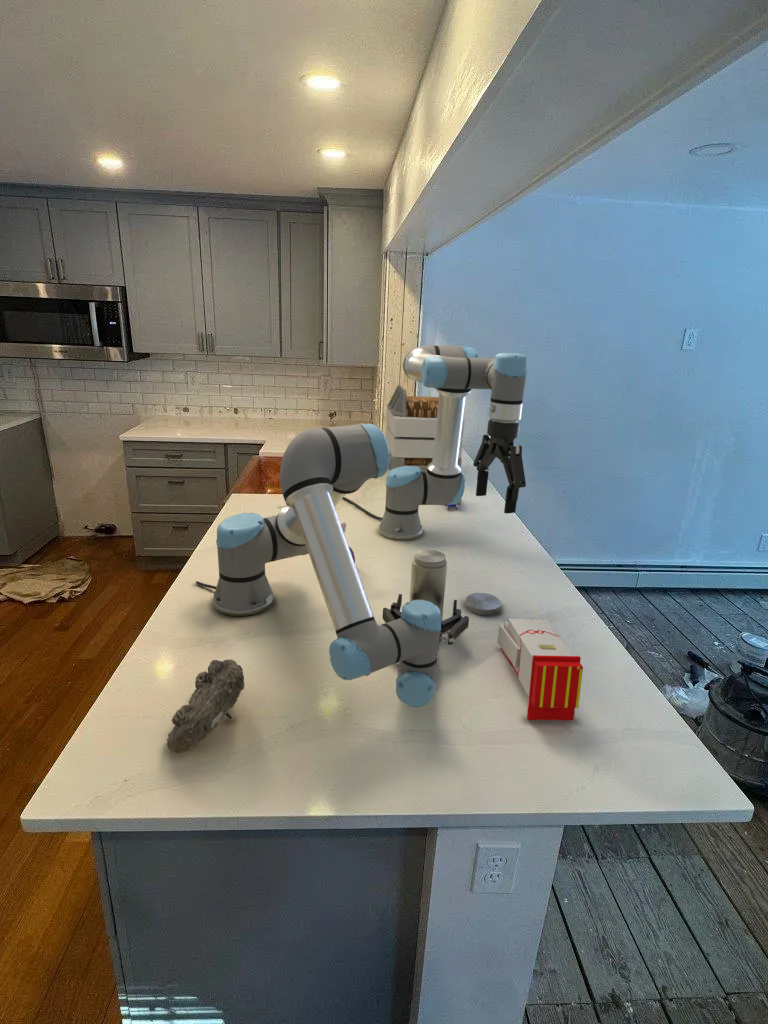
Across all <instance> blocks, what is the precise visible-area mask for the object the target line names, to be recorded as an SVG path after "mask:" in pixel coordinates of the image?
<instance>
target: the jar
mask: <svg viewBox="0 0 768 1024" xmlns="http://www.w3.org/2000/svg"><path fill="white" fill-rule="evenodd" d="M447 571H448V561H447V556H446V554H444V552H441V551H439V550H435V549H427V548H426V549H420V550H417V551H416V552H414V554H413V558H412V560H411V571H410V587H409V588H410V589H409V601H412V600H425V601H429V602H431V603H433V604H434V605H436V606H437V607H438V608H439V610H440V613H441V621H443V617H444V616H443V615H444V606H445V604H444V603H445V593H446V592H445V591H446V581H447Z"/></svg>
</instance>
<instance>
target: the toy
mask: <svg viewBox="0 0 768 1024" xmlns="http://www.w3.org/2000/svg"><path fill="white" fill-rule="evenodd" d="M498 626H499V627H498V634H497V644H498V646H500V650H501V652H502V653H503V655H504V657H505V658H506V661H508V663H509V665H510V667H511V668H512V670H513V671H514V673H515V675H516V677H518V680H519V682H520V684H521V686H522V687H523V690H524V692H525V693H526V695H527V697H528V702H527V703H528V704H527V712H526V720H527V721H562V722H563V721H567V722H568V721H570V722H572V721H574V719H575V714H576V713H575V712H576V709H578V708H579V705H580V697H581V687H582V680H583V672H584V671H583V670H584V666H583V664H582V663H581V656H580V655H575V654H574V653H573V651H572V650H571V649H570V648H569V647H568V646H567V644H566V643H565V642H564V640H563V639H562V638H561V636H560V635H559V634H558V633H557V631H556V630H555V629H554V627H553V626H552V625H551V624H550V623H549V621H548V620H547V619H539V618H538V619H534V618H533V619H532V618H508V621H504V623H503V624H499V625H498Z"/></svg>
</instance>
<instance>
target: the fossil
mask: <svg viewBox="0 0 768 1024" xmlns="http://www.w3.org/2000/svg"><path fill="white" fill-rule="evenodd" d="M243 670H244V669H243V667H242V665H240V664H237V662H236V661H235V660H234V659H232V658H231V659H227V658H226V659H224V660H223V661H222V660H217V659H212V660H211V661H210V663H209V665H208V666H207V671H201V672H199V673H198V674H197V675H196V676H195V680H194V684H195V685H194V687H195V689H194V690H193V693H192V694H191V697H190V698H189V700H188V704H184V705H182V706H181V707H180V709H177V710H176V711H175V713H174V715H173V716H172V718H171V723H172V724H173V727H172V730H171V731H170V732H168V734H167V738H166V741H167V742H166V745H167V749H168V750H169V751H173V752H174V753H176V754H178V753H182V752H188V751H189V752H192V751H193V750H195V748H196V747H197V746H199V744H200V743H201V742H203V741H204V740H205V739H206V738H207V737H208V736H209V735H210V734H211V733H212V732H214V730H215V729H217V727H218V726H219V724H220V722H221V721H222V720H223V719H224V718H225V716H226V717H227V719H229V720H233V717H232V715H230V714H229V710H230V709H231V708H234V706H235V704H236V703H237V702H238V699H239V697H240V695H241V693H242V691H243V690H245V689H244V688H245V675H244V671H243Z"/></svg>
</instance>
